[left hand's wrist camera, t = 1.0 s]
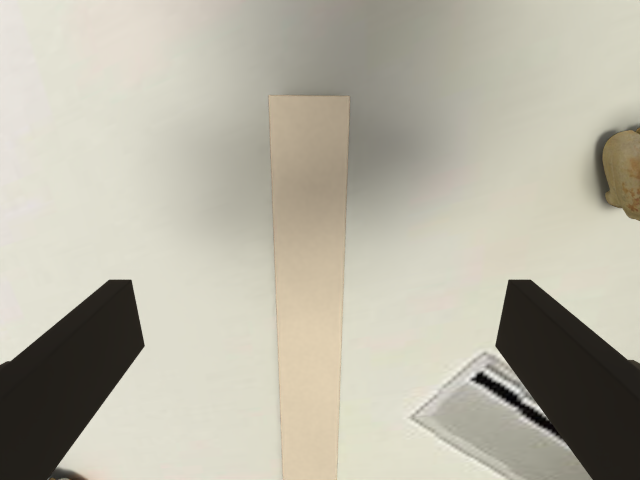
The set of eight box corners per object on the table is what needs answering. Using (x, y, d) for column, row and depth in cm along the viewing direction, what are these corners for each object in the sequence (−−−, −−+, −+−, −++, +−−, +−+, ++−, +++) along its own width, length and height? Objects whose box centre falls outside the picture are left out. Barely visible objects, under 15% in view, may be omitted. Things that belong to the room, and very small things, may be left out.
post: (281, 97, 30) (268, 94, 22) (342, 98, 30) (350, 95, 22) (294, 611, 55) (290, 693, 47) (327, 611, 55) (329, 693, 47)
